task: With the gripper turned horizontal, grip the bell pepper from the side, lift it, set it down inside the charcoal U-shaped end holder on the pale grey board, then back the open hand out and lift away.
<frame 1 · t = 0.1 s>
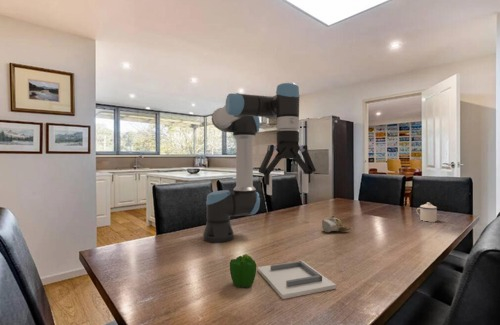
hand: (287, 193, 89), 28 cm above the table, fingers open, 13 cm apart
ceramic sculpture: (333, 231, 143), on the table
bell pepper: (242, 285, 83), on the table
teacup with lid: (425, 220, 167), on the table
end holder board: (293, 278, 86), on the table
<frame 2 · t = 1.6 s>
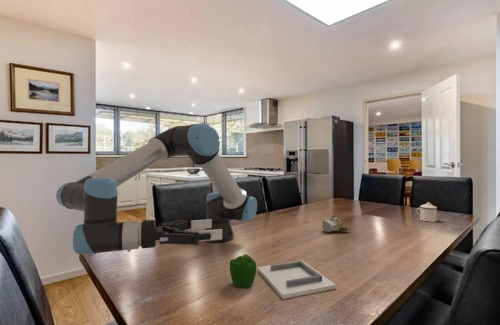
hand: (216, 228, 80), 19 cm above the table, fingers open, 13 cm apart
nothing on the table moved.
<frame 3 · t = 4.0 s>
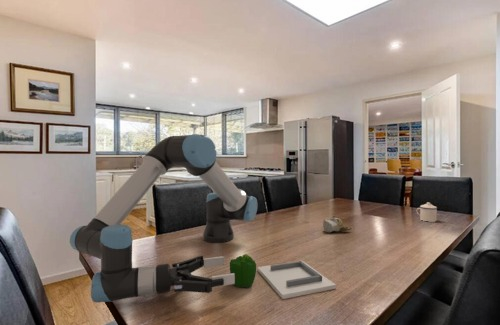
hand: (228, 268, 81), 6 cm above the table, fingers open, 13 cm apart
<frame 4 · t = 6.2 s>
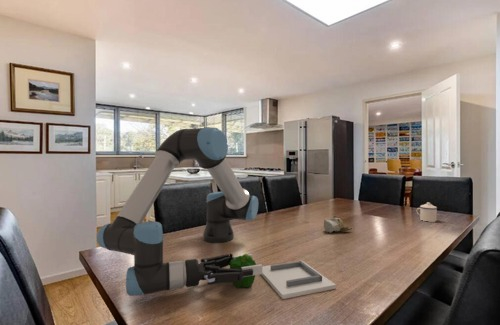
hand: (256, 263, 84), 6 cm above the table, fingers closed on bell pepper, 8 cm apart
bell pepper: (242, 285, 83), on the table, touching gripper
everything else where it was.
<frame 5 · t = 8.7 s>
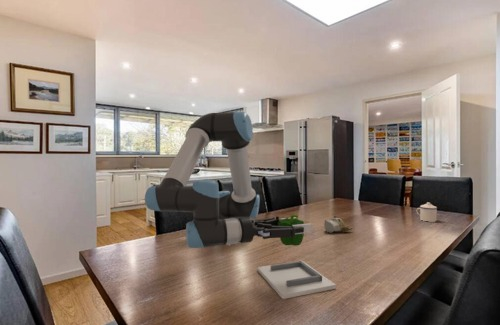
hand: (303, 224, 87), 18 cm above the table, fingers closed on bell pepper, 8 cm apart
bell pepper: (291, 244, 86), point 12 cm above the table, touching gripper
when the fingers open (9 cm above the table, at t = 11.5 s): bell pepper drops 1 cm, resting on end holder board.
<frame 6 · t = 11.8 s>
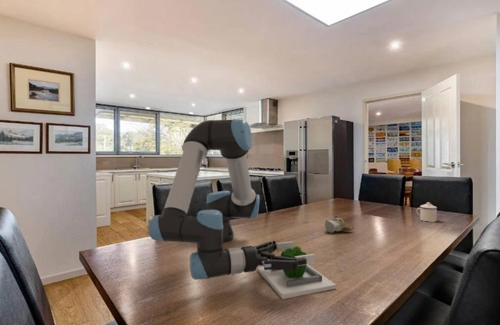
hand: (303, 251, 87), 9 cm above the table, fingers open, 12 cm apart
bell pepper: (293, 275, 86), point 1 cm above the table, touching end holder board
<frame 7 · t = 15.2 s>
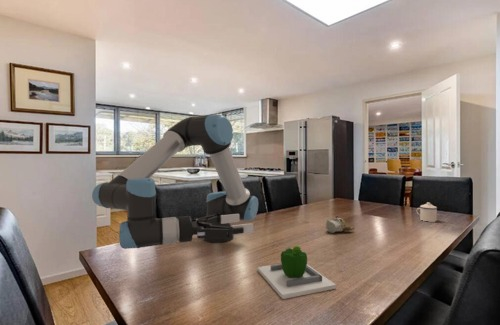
hand: (245, 222, 85), 19 cm above the table, fingers open, 13 cm apart
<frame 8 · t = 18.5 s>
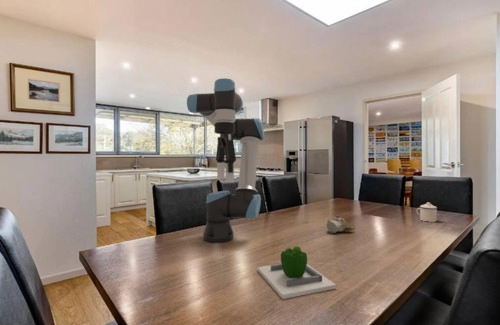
hand: (225, 180, 96), 32 cm above the table, fingers open, 13 cm apart
at the end: bell pepper 0.1 cm off-centre on the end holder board, point 1.0 cm above the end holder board's base; bell pepper tilted 0°; the gripper is holding nothing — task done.
